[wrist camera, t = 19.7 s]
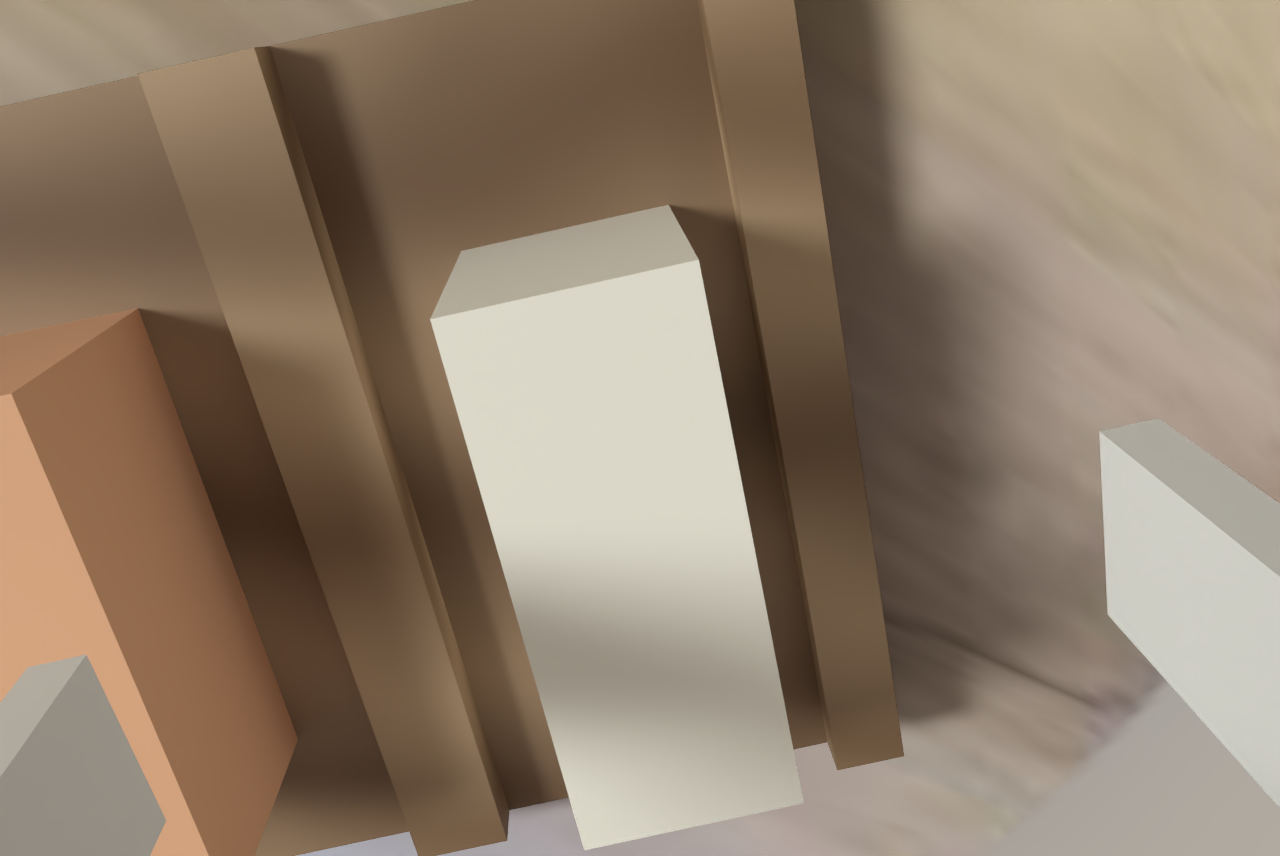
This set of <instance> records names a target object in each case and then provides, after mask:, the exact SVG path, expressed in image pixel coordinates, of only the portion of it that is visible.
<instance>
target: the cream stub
mask: <svg viewBox="0 0 1280 856" xmlns="http://www.w3.org/2000/svg"><path fill="white" fill-rule="evenodd" d="M430 321H431V324H432V328H433V331H434V335H435V338H436V341H437V345H438V348H439V352H440V355H441V359H442V362H443V366H444V369H445V372H446V376H447V379H448V383H449V386H450V390H451V393H452V397H453V400H454V403H455V407H456V410H457V414H458V417H459V421H460V424H461V428H462V431H463V434H464V438H465V441H466V445H467V448H468V452H469V455H470V459H471V462H472V465H473V469H474V472H475V476H476V479H477V483H478V486H479V489H480V493H481V496H482V500H483V503H484V507H485V510H486V514H487V517H488V520H489V524H490V527H491V531H492V534H493V538H494V541H495V545H496V548H497V551H498V555H499V558H500V562H501V565H502V569H503V572H504V576H505V579H506V582H507V586H508V589H509V593H510V596H511V600H512V603H513V607H514V610H515V613H516V617H517V620H518V624H519V627H520V631H521V634H522V638H523V641H524V644H525V648H526V651H527V655H528V658H529V662H530V665H531V668H532V672H533V675H534V679H535V682H536V686H537V689H538V693H539V696H540V699H541V703H542V706H543V710H544V713H545V717H546V720H547V724H548V727H549V730H550V734H551V737H552V741H553V744H554V748H555V751H556V755H557V758H558V761H559V765H560V768H561V772H562V775H563V779H564V782H565V786H566V789H567V792H568V796H569V799H570V803H571V806H572V810H573V813H574V817H575V820H576V823H577V827H578V830H579V834H580V837H581V841H582V844H583V847H584V850H588V849H593V848H597V847H602V846H607V845H611V844H616V843H621V842H625V841H630V840H635V839H639V838H644V837H649V836H653V835H658V834H663V833H667V832H672V831H677V830H681V829H686V828H691V827H695V826H700V825H705V824H709V823H714V822H719V821H723V820H728V819H733V818H737V817H742V816H747V815H751V814H756V813H761V812H765V811H770V810H775V809H779V808H784V807H789V806H793V805H798V804H803V803H804V802H803V797H802V791H801V786H800V781H799V776H798V771H797V765H796V760H795V755H794V750H793V745H792V740H791V734H790V729H789V724H788V719H787V714H786V709H785V703H784V698H783V693H782V688H781V683H780V677H779V672H778V667H777V662H776V657H775V652H774V646H773V641H772V636H771V631H770V626H769V621H768V615H767V610H766V605H765V600H764V595H763V589H762V584H761V579H760V574H759V569H758V564H757V558H756V553H755V548H754V543H753V538H752V533H751V527H750V522H749V517H748V512H747V507H746V501H745V496H744V491H743V486H742V481H741V476H740V470H739V465H738V460H737V455H736V450H735V445H734V439H733V434H732V429H731V424H730V419H729V413H728V408H727V403H726V398H725V393H724V388H723V382H722V377H721V372H720V367H719V362H718V357H717V351H716V346H715V341H714V336H713V331H712V325H711V320H710V315H709V310H708V305H707V300H706V294H705V289H704V284H703V279H702V274H701V269H700V263H699V259H698V257H697V256H696V254H695V252H694V250H693V248H692V246H691V245H690V243H689V241H688V239H687V237H686V236H685V234H684V232H683V230H682V228H681V226H680V225H679V223H678V221H677V219H676V217H675V216H674V214H673V212H672V210H671V208H670V206H669V205H665V206H661V207H656V208H652V209H647V210H643V211H638V212H634V213H629V214H625V215H620V216H616V217H611V218H607V219H602V220H598V221H593V222H589V223H585V224H580V225H576V226H571V227H567V228H562V229H558V230H553V231H549V232H544V233H540V234H535V235H531V236H526V237H522V238H517V239H513V240H508V241H504V242H499V243H495V244H490V245H486V246H481V247H477V248H473V249H468V250H464V251H461V253H460V255H459V257H458V259H457V262H456V264H455V266H454V268H453V270H452V272H451V275H450V277H449V279H448V281H447V283H446V286H445V288H444V290H443V292H442V294H441V297H440V299H439V301H438V303H437V305H436V308H435V310H434V312H433V314H432V316H431V319H430Z"/></svg>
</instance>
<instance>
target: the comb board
mask: <svg viewBox="0 0 1280 856" xmlns="http://www.w3.org/2000/svg"><path fill="white" fill-rule="evenodd" d="M665 205H669V206H670V208H671V210H672V212H673V214H674V216H675V217H676V219H677V221H678V223H679V225H680V226H681V228H682V230H683V232H684V234H685V236H686V237H687V239H688V241H689V243H690V245H691V246H692V248H693V250H694V252H695V254H696V256H697V257H698V259H699V263H700V269H701V274H702V279H703V284H704V289H705V294H706V300H707V305H708V310H709V315H710V320H711V325H712V331H713V336H714V341H715V346H716V351H717V357H718V362H719V367H720V372H721V377H722V382H723V388H724V393H725V398H726V403H727V408H728V413H729V419H730V424H731V429H732V434H733V439H734V445H735V450H736V455H737V460H738V465H739V470H740V476H741V481H742V486H743V491H744V496H745V501H746V507H747V512H748V517H749V522H750V527H751V533H752V538H753V543H754V548H755V553H756V558H757V564H758V569H759V574H760V579H761V584H762V589H763V595H764V600H765V605H766V610H767V615H768V621H769V626H770V631H771V636H772V641H773V646H774V652H775V657H776V662H777V667H778V672H779V677H780V683H781V688H782V693H783V698H784V703H785V709H786V714H787V719H788V724H789V729H790V734H791V740H792V745H793V749H797V748H802V747H807V746H811V745H816V744H821V743H825V742H828V745H829V748H830V751H831V753H832V756H833V759H834V762H835V764H836V767H837V770H841V769H845V768H850V767H855V766H860V765H864V764H869V763H874V762H878V761H883V760H888V759H892V758H897V757H902V756H904V753H903V746H902V739H901V732H900V725H899V718H898V711H897V705H896V698H895V691H894V684H893V677H892V670H891V663H890V656H889V650H888V643H887V636H886V629H885V622H884V615H883V608H882V602H881V595H880V588H879V581H878V574H877V567H876V560H875V553H874V547H873V540H872V533H871V526H870V519H869V512H868V505H867V498H866V492H865V485H864V478H863V471H862V464H861V457H860V450H859V444H858V437H857V430H856V423H855V416H854V409H853V402H852V395H851V389H850V382H849V375H848V368H847V361H846V354H845V347H844V341H843V334H842V327H841V320H840V313H839V306H838V299H837V292H836V286H835V279H834V272H833V265H832V258H831V251H830V244H829V238H828V231H827V224H826V217H825V210H824V203H823V196H822V189H821V183H820V176H819V169H818V162H817V155H816V148H815V141H814V135H813V128H812V121H811V114H810V107H809V100H808V93H807V86H806V80H805V73H804V66H803V59H802V52H801V45H800V38H799V32H798V25H797V18H796V11H795V4H794V0H474V1H469V2H465V3H461V4H456V5H452V6H447V7H443V8H438V9H434V10H429V11H425V12H420V13H416V14H411V15H407V16H403V17H398V18H394V19H389V20H385V21H380V22H376V23H371V24H367V25H362V26H358V27H353V28H349V29H345V30H340V31H336V32H331V33H327V34H322V35H318V36H313V37H309V38H304V39H300V40H295V41H291V42H287V43H282V44H278V45H273V46H267V47H256V48H251V49H246V50H242V51H237V52H233V53H228V54H224V55H219V56H215V57H210V58H206V59H201V60H197V61H193V62H188V63H184V64H179V65H175V66H170V67H166V68H161V69H157V70H152V71H148V72H143V73H139V74H138V76H135V77H130V78H126V79H121V80H117V81H113V82H108V83H104V84H99V85H95V86H90V87H86V88H81V89H77V90H72V91H68V92H63V93H59V94H55V95H50V96H46V97H41V98H37V99H32V100H28V101H23V102H19V103H14V104H10V105H5V106H1V107H0V336H5V335H10V334H15V333H20V332H25V331H30V330H34V329H39V328H44V327H49V326H54V325H59V324H64V323H69V322H73V321H78V320H83V319H88V318H93V317H98V316H103V315H108V314H112V313H117V312H122V311H127V310H132V309H137V308H138V310H139V312H140V315H141V318H142V320H143V323H144V326H145V328H146V331H147V334H148V336H149V339H150V342H151V345H152V347H153V350H154V353H155V355H156V358H157V361H158V363H159V366H160V369H161V371H162V374H163V377H164V380H165V382H166V385H167V388H168V390H169V393H170V396H171V398H172V401H173V404H174V406H175V409H176V412H177V415H178V417H179V420H180V423H181V425H182V428H183V431H184V433H185V436H186V439H187V441H188V444H189V447H190V450H191V452H192V455H193V458H194V460H195V463H196V466H197V468H198V471H199V474H200V476H201V479H202V482H203V485H204V487H205V490H206V493H207V495H208V498H209V501H210V503H211V506H212V509H213V511H214V514H215V517H216V520H217V522H218V525H219V528H220V530H221V533H222V536H223V538H224V541H225V544H226V546H227V549H228V552H229V554H230V557H231V560H232V563H233V565H234V568H235V571H236V573H237V576H238V579H239V581H240V584H241V587H242V589H243V592H244V595H245V598H246V600H247V603H248V606H249V608H250V611H251V614H252V616H253V619H254V622H255V624H256V627H257V630H258V633H259V635H260V638H261V641H262V643H263V646H264V649H265V651H266V654H267V657H268V659H269V662H270V665H271V668H272V670H273V673H274V676H275V678H276V681H277V684H278V686H279V689H280V692H281V694H282V697H283V700H284V703H285V705H286V708H287V711H288V713H289V716H290V719H291V721H292V724H293V727H294V729H295V732H296V735H297V738H298V741H297V744H296V746H295V749H294V752H293V754H292V757H291V760H290V762H289V765H288V768H287V770H286V773H285V776H284V778H283V781H282V784H281V786H280V789H279V792H278V794H277V797H276V800H275V802H274V805H273V808H272V810H271V813H270V816H269V819H268V821H267V824H266V827H265V829H264V832H263V835H262V837H261V840H260V843H259V845H258V848H257V851H256V853H255V856H295V855H300V854H305V853H310V852H314V851H319V850H324V849H328V848H333V847H338V846H342V845H347V844H352V843H356V842H361V841H366V840H370V839H375V838H380V837H385V836H389V835H394V834H399V833H403V832H408V831H410V834H411V837H412V840H413V843H414V845H415V848H416V851H417V854H418V856H437V855H441V854H446V853H451V852H455V851H460V850H465V849H470V848H474V847H479V846H484V845H488V844H493V843H498V842H502V841H507V835H508V821H509V810H511V809H516V808H521V807H525V806H530V805H535V804H539V803H544V802H549V801H553V800H558V799H563V798H567V797H569V796H568V792H567V789H566V786H565V782H564V779H563V775H562V772H561V768H560V765H559V761H558V758H557V755H556V751H555V748H554V744H553V741H552V737H551V734H550V730H549V727H548V724H547V720H546V717H545V713H544V710H543V706H542V703H541V699H540V696H539V693H538V689H537V686H536V682H535V679H534V675H533V672H532V668H531V665H530V662H529V658H528V655H527V651H526V648H525V644H524V641H523V638H522V634H521V631H520V627H519V624H518V620H517V617H516V613H515V610H514V607H513V603H512V600H511V596H510V593H509V589H508V586H507V582H506V579H505V576H504V572H503V569H502V565H501V562H500V558H499V555H498V551H497V548H496V545H495V541H494V538H493V534H492V531H491V527H490V524H489V520H488V517H487V514H486V510H485V507H484V503H483V500H482V496H481V493H480V489H479V486H478V483H477V479H476V476H475V472H474V469H473V465H472V462H471V459H470V455H469V452H468V448H467V445H466V441H465V438H464V434H463V431H462V428H461V424H460V421H459V417H458V414H457V410H456V407H455V403H454V400H453V397H452V393H451V390H450V386H449V383H448V379H447V376H446V372H445V369H444V366H443V362H442V359H441V355H440V352H439V348H438V345H437V341H436V338H435V335H434V331H433V328H432V324H431V321H430V319H431V316H432V314H433V312H434V310H435V308H436V305H437V303H438V301H439V299H440V297H441V294H442V292H443V290H444V288H445V286H446V283H447V281H448V279H449V277H450V275H451V272H452V270H453V268H454V266H455V264H456V262H457V259H458V257H459V255H460V253H461V251H464V250H468V249H473V248H477V247H481V246H486V245H490V244H495V243H499V242H504V241H508V240H513V239H517V238H522V237H526V236H531V235H535V234H540V233H544V232H549V231H553V230H558V229H562V228H567V227H571V226H576V225H580V224H585V223H589V222H593V221H598V220H602V219H607V218H611V217H616V216H620V215H625V214H629V213H634V212H638V211H643V210H647V209H652V208H656V207H661V206H665Z"/></svg>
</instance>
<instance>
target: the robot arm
mask: <svg viewBox="0 0 1280 856" xmlns="http://www.w3.org/2000/svg"><path fill="white" fill-rule="evenodd" d="M1099 434H1100V456H1101V478H1102V500H1103V522H1104V544H1105V566H1106V588H1107V610H1108V616H1109V617H1110V618H1111V619H1112V620H1113V621H1114V622H1115V623H1116V625H1117V626H1118V627H1119V628H1120V629H1121V630H1122V631H1123V632H1124V634H1125V635H1126V636H1127V637H1128V638H1129V639H1130V640H1131V641H1132V643H1133V644H1134V645H1135V646H1136V647H1137V648H1138V649H1139V650H1140V652H1141V653H1142V654H1143V655H1144V656H1145V657H1146V658H1147V659H1148V660H1149V662H1150V663H1151V664H1152V665H1153V666H1154V667H1155V668H1156V669H1157V671H1158V672H1159V673H1160V674H1161V675H1162V676H1163V677H1164V678H1165V680H1166V681H1167V682H1168V683H1169V684H1170V685H1171V686H1172V687H1173V689H1174V690H1175V691H1176V692H1177V693H1178V694H1179V695H1180V696H1181V698H1182V699H1183V700H1184V701H1185V702H1186V703H1187V704H1188V705H1189V706H1190V708H1191V709H1192V710H1193V711H1194V712H1195V713H1196V714H1197V716H1199V718H1200V719H1201V720H1202V721H1203V722H1204V723H1205V725H1207V727H1208V728H1209V729H1210V730H1211V731H1212V732H1213V733H1214V735H1215V736H1216V737H1217V738H1218V739H1219V740H1220V741H1221V742H1222V744H1223V745H1224V746H1225V747H1226V748H1227V749H1228V750H1229V751H1230V753H1231V754H1232V755H1233V756H1234V757H1235V758H1236V759H1237V760H1238V761H1239V763H1240V764H1241V765H1242V766H1243V767H1244V768H1245V769H1246V771H1247V772H1248V773H1249V774H1250V775H1251V776H1252V777H1253V778H1254V780H1255V781H1256V782H1257V783H1258V784H1259V785H1260V786H1261V787H1262V789H1263V790H1264V791H1265V792H1266V793H1267V794H1268V795H1269V796H1270V797H1271V799H1272V800H1273V801H1274V802H1275V803H1276V804H1277V805H1278V807H1279V808H1280V503H1278V502H1277V501H1275V500H1274V499H1272V498H1271V497H1270V496H1268V495H1267V494H1265V493H1264V492H1263V491H1261V490H1260V489H1258V488H1257V487H1255V486H1254V485H1253V484H1251V483H1250V482H1248V481H1247V480H1246V479H1244V478H1243V477H1241V476H1240V475H1238V474H1237V473H1236V472H1234V471H1233V470H1231V469H1230V468H1229V467H1227V466H1226V465H1224V464H1223V463H1221V462H1220V461H1219V460H1217V459H1216V458H1214V457H1213V456H1211V455H1210V454H1209V453H1207V452H1206V451H1204V450H1203V449H1202V448H1200V447H1199V446H1197V445H1196V444H1194V443H1193V442H1192V441H1190V440H1189V439H1187V438H1186V437H1185V436H1183V435H1182V434H1180V433H1179V432H1177V431H1176V430H1175V429H1173V428H1172V427H1170V426H1169V425H1168V424H1166V423H1165V422H1163V421H1162V420H1160V419H1154V420H1150V421H1145V422H1141V423H1136V424H1132V425H1127V426H1122V427H1118V428H1113V429H1109V430H1104V431H1100V432H1099ZM165 822H166V819H165V817H164V815H163V813H162V810H161V808H160V806H159V804H158V802H157V800H156V798H155V796H154V794H153V792H152V790H151V788H150V786H149V783H148V781H147V779H146V777H145V775H144V773H143V771H142V769H141V767H140V765H139V763H138V761H137V759H136V756H135V754H134V752H133V750H132V748H131V746H130V744H129V742H128V740H127V738H126V736H125V734H124V732H123V729H122V727H121V725H120V723H119V721H118V719H117V717H116V715H115V713H114V711H113V709H112V707H111V705H110V702H109V700H108V698H107V696H106V694H105V692H104V690H103V688H102V686H101V684H100V682H99V680H98V678H97V675H96V673H95V671H94V669H93V667H92V665H91V663H90V661H89V659H88V657H87V655H81V656H77V657H72V658H68V659H63V660H58V661H54V662H49V663H45V664H40V665H36V666H31V667H27V669H26V670H25V671H24V673H23V674H22V675H21V677H20V678H19V679H18V680H17V682H16V683H15V684H14V686H13V687H12V688H11V689H10V691H9V692H8V693H7V695H6V696H5V697H4V699H3V700H2V701H1V702H0V856H150V855H151V852H152V850H153V848H154V846H155V844H156V842H157V840H158V837H159V835H160V833H161V831H162V829H163V827H164V824H165Z"/></svg>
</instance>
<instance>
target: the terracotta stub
mask: <svg viewBox="0 0 1280 856" xmlns="http://www.w3.org/2000/svg"><path fill="white" fill-rule="evenodd" d="M81 655H87V657H88V659H89V661H90V663H91V665H92V667H93V669H94V671H95V673H96V675H97V678H98V680H99V682H100V684H101V686H102V688H103V690H104V692H105V694H106V696H107V698H108V700H109V702H110V705H111V707H112V709H113V711H114V713H115V715H116V717H117V719H118V721H119V723H120V725H121V727H122V729H123V732H124V734H125V736H126V738H127V740H128V742H129V744H130V746H131V748H132V750H133V752H134V754H135V756H136V759H137V761H138V763H139V765H140V767H141V769H142V771H143V773H144V775H145V777H146V779H147V781H148V783H149V786H150V788H151V790H152V792H153V794H154V796H155V798H156V800H157V802H158V804H159V806H160V808H161V810H162V813H163V815H164V817H165V819H166V822H165V824H164V827H163V829H162V831H161V833H160V835H159V837H158V840H157V842H156V844H155V846H154V848H153V850H152V852H151V855H150V856H255V853H256V851H257V848H258V845H259V843H260V840H261V837H262V835H263V832H264V829H265V827H266V824H267V821H268V819H269V816H270V813H271V810H272V808H273V805H274V802H275V800H276V797H277V794H278V792H279V789H280V786H281V784H282V781H283V778H284V776H285V773H286V770H287V768H288V765H289V762H290V760H291V757H292V754H293V752H294V749H295V746H296V744H297V741H298V738H297V735H296V732H295V729H294V727H293V724H292V721H291V719H290V716H289V713H288V711H287V708H286V705H285V703H284V700H283V697H282V694H281V692H280V689H279V686H278V684H277V681H276V678H275V676H274V673H273V670H272V668H271V665H270V662H269V659H268V657H267V654H266V651H265V649H264V646H263V643H262V641H261V638H260V635H259V633H258V630H257V627H256V624H255V622H254V619H253V616H252V614H251V611H250V608H249V606H248V603H247V600H246V598H245V595H244V592H243V589H242V587H241V584H240V581H239V579H238V576H237V573H236V571H235V568H234V565H233V563H232V560H231V557H230V554H229V552H228V549H227V546H226V544H225V541H224V538H223V536H222V533H221V530H220V528H219V525H218V522H217V520H216V517H215V514H214V511H213V509H212V506H211V503H210V501H209V498H208V495H207V493H206V490H205V487H204V485H203V482H202V479H201V476H200V474H199V471H198V468H197V466H196V463H195V460H194V458H193V455H192V452H191V450H190V447H189V444H188V441H187V439H186V436H185V433H184V431H183V428H182V425H181V423H180V420H179V417H178V415H177V412H176V409H175V406H174V404H173V401H172V398H171V396H170V393H169V390H168V388H167V385H166V382H165V380H164V377H163V374H162V371H161V369H160V366H159V363H158V361H157V358H156V355H155V353H154V350H153V347H152V345H151V342H150V339H149V336H148V334H147V331H146V328H145V326H144V323H143V320H142V318H141V315H140V312H139V310H138V308H137V309H132V310H127V311H122V312H117V313H112V314H108V315H103V316H98V317H93V318H88V319H83V320H78V321H73V322H69V323H64V324H59V325H54V326H49V327H44V328H39V329H34V330H30V331H25V332H20V333H15V334H10V335H5V336H0V702H1V701H2V700H3V699H4V697H5V696H6V695H7V693H8V692H9V691H10V689H11V688H12V687H13V686H14V684H15V683H16V682H17V680H18V679H19V678H20V677H21V675H22V674H23V673H24V671H25V670H26V669H27V667H31V666H36V665H40V664H45V663H49V662H54V661H58V660H63V659H68V658H72V657H77V656H81Z"/></svg>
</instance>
